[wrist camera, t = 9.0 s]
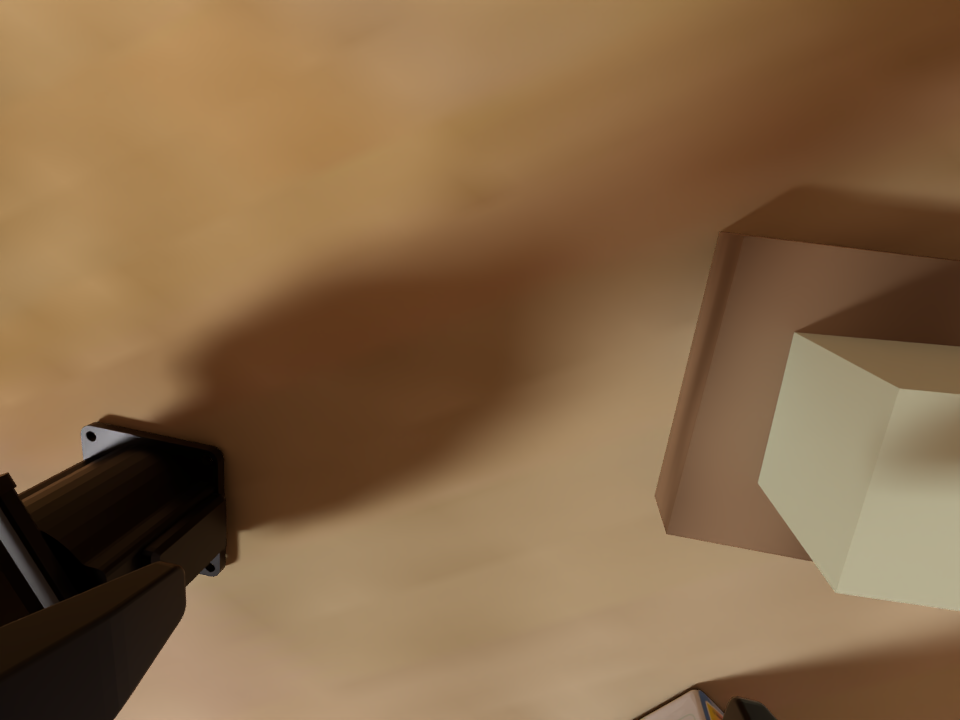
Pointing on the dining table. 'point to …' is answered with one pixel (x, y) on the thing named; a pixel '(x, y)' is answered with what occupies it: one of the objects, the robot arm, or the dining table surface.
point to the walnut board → (778, 367)
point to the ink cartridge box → (688, 708)
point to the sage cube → (871, 465)
